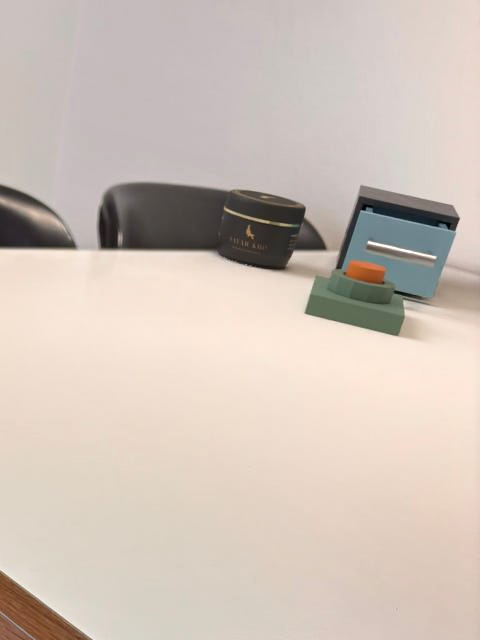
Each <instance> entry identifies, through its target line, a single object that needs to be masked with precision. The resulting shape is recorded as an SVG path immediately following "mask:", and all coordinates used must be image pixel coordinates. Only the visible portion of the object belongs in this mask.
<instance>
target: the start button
mask: <svg viewBox="0 0 480 640" xmlns="http://www.w3.org/2000/svg"><path fill="white" fill-rule="evenodd" d="M385 273H386V269H385V268H384V267H381V266H379V265H376V264H372V263H368V262H363V261H356V260H352V261H350V262H349V265H348V268H347V272H346V276H347V277H350V278H353V279H356V280H359V281H363V282H368V283H374V284H382V282H383V279H384V276H385Z"/></svg>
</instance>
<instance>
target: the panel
mask: <svg viewBox="0 0 480 640" xmlns="http://www.w3.org/2000/svg"><path fill="white" fill-rule="evenodd" d="M346 272H347V270H345V269H335V268H333V269H332V271H331V273H330V277H326V276H321V275H318V274H317V275H315V278H314V280H313V284H312V286H311V290H310V293H309V296H308V300H307V303H306V307H305V310H304V314H305V315H309V316H312V317H317V318H322V319H324V320H329V321H333V322H338V323H340V324H341V323H342V324H346V325H349V326H354V327H358V328H362V329H366V330H370V331H375V332H379V333H383V334H386V335H391V336H395V337H399V335H400V332H401V329H402V326H403V323H404V320H405V317H406V314H405V305H404V298H403V297H404V296H403V295H401V294H399V293H398V294H397V293H395V291H396V290H395V284H394V283H392V282H390V281H388V280H386V279H383V282H382V284H374V283H368V282H363V281H359V280H356V279H353V278H350V277H347V276H346Z"/></svg>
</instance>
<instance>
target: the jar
mask: <svg viewBox="0 0 480 640" xmlns="http://www.w3.org/2000/svg"><path fill="white" fill-rule="evenodd" d="M306 211H307V207H306V205H304V204H303V203H301V202H299V201H297V200H294V199H291V198H288V197H284V196H280V195H276V194H272V193H267V192H262V191H257V190H250V189H242V188H241V189H239V188H235V189H231V190H230V191H229V192H228V194H227V197H226V200H225V204H224V205H223V213H222V217H221V220H220V223H219V224H220V226H219V228H218V232H217V235H216V251H217V252H218V255H219V254H220V255H221V256H220V255H219V256H220V257H222V258H224V257H225V258H224V259H226V258H227V259H226V260H229V259H230V260H229V261H231V260H233V261H232V262H234V261H236V262H235V263H237V262H239V263H238V264H241V263H243V264H242V265H245V264H247V265H246V266H249V265H252V266H251V267H254V266H256V267H255V268H259V267H260V268H259V269H266V268H267V270H281V269H283V268H284V267H286V266H287V265H288V263H289V262H290V260H291V258H292V257H293V254H294V251H295V248H296V245H297V241H298V237H299V235H300V231H301V228H302V227H303V224H304V219H305V215H306Z"/></svg>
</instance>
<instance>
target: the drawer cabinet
mask: <svg viewBox="0 0 480 640" xmlns="http://www.w3.org/2000/svg"><path fill="white" fill-rule="evenodd" d="M366 204H367V205H372V206H376V207H381V208H385V209H390V210H394V211H399V212H403V213H408V214H412V215H417V216H421V217H426V218H430V219H435V220H439V221H444V222H445V224H446V226H447V228H448V230H451V231H456V232H457V228H458V225H459V222H460V219H461V217H460V216H459V214H458V211H457V210H456V207H455V206H454V204H449V203H445V202H439V201H435V200H431V199H427V198H422V197H417V196H413V195H408V194H403V193H400V192H394V191H390V190H386V189H381V188H377V187H371V186H368V185H363V184H360V186H359V189H358V192H357V195H356V198H355V201H354V205H353V207H352V210H351V214H350V216H349V220H348V222H347V223H348V224H347V226H346V229H345V232H344V235H343V239H342V242H341V244H340V247H339V251H338V254H337V258H336V263H335V268H334V269H342V267H343V264H344V261H345V258H346V254H347V251H348V248H349V245H350V242H351V239H352V236H353V233H354V230H355V227H356V224H357V221H358V218H359V214H360V211H361V210H362V211H364V210H365V207H366Z"/></svg>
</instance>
